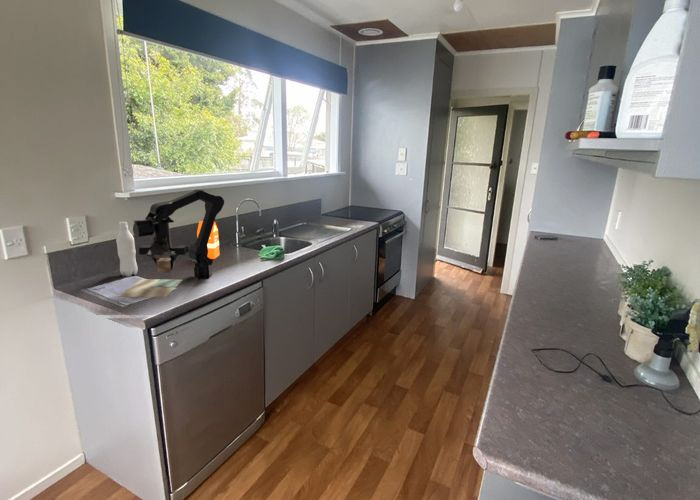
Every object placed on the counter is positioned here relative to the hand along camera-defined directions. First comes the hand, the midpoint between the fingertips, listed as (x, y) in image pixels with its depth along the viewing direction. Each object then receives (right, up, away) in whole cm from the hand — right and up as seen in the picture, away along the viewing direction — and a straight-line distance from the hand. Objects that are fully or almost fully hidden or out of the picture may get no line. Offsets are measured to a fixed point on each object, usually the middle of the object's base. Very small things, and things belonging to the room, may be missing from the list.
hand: (165, 268), depth 160 cm
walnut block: (0, -1, 0) cm, 1 cm away
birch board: (-4, -9, -3) cm, 10 cm away
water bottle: (-24, -4, +13) cm, 27 cm away
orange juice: (+1, +4, +46) cm, 46 cm away
